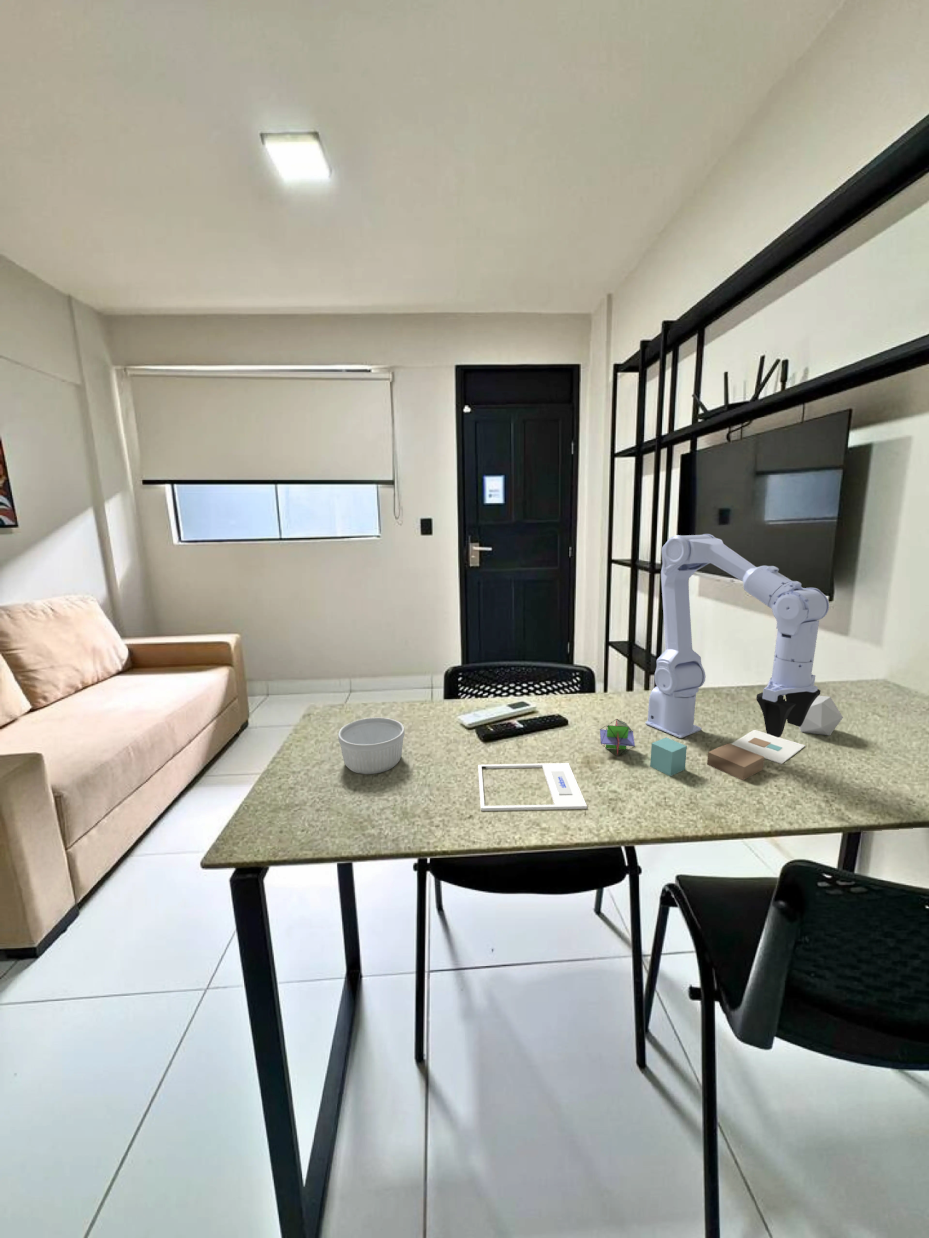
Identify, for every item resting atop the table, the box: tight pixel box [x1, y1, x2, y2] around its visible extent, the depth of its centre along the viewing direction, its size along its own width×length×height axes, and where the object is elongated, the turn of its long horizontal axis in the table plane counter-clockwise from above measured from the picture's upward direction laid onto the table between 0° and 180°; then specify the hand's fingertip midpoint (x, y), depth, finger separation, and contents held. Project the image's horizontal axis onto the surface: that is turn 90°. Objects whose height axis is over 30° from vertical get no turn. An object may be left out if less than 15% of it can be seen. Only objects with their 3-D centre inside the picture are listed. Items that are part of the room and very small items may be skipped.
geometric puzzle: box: [599, 718, 636, 758], centre depth 100 cm, size 7×7×8 cm
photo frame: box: [477, 762, 588, 812], centre depth 88 cm, size 15×1×18 cm
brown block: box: [706, 742, 765, 781], centre depth 93 cm, size 7×7×3 cm
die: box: [798, 695, 844, 737], centre depth 107 cm, size 8×9×10 cm
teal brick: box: [649, 737, 688, 777], centre depth 93 cm, size 4×4×5 cm
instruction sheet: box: [731, 729, 806, 765], centre depth 102 cm, size 10×12×1 cm
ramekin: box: [337, 716, 405, 775], centre depth 98 cm, size 13×13×7 cm
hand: (784, 729), depth 87 cm, fingers open, 7 cm apart
